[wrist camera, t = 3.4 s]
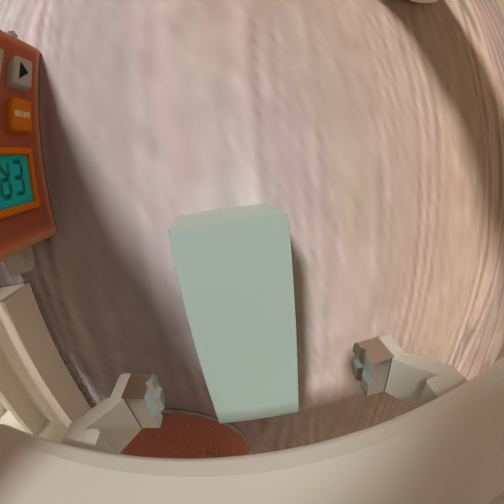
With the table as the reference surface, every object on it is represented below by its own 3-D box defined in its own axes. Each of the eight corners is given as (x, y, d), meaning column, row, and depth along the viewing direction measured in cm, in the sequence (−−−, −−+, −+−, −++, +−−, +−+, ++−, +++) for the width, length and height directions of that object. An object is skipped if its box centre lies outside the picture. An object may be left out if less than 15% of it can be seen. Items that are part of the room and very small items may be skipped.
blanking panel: (183, 214, 14) (168, 230, 10) (270, 202, 14) (288, 214, 10) (218, 378, 17) (219, 423, 13) (285, 369, 17) (298, 411, 13)
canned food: (128, 391, 17) (88, 534, 5) (269, 425, 19) (297, 556, 7) (119, 453, 19) (100, 548, 8) (225, 478, 21) (232, 570, 10)
